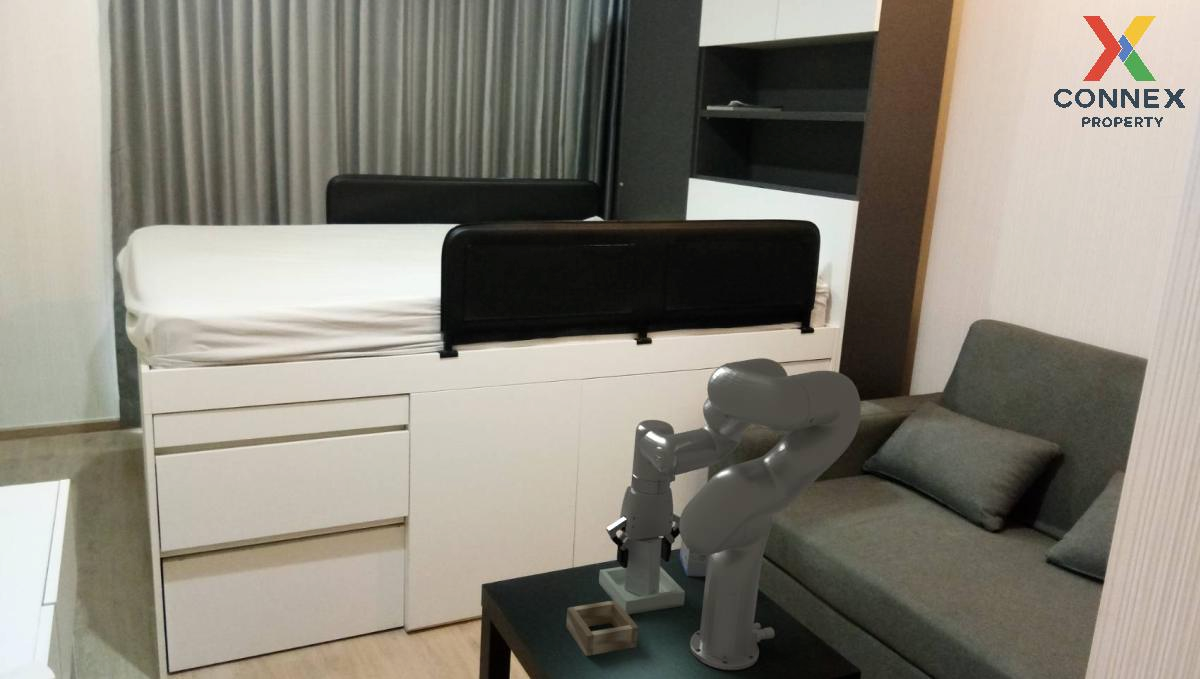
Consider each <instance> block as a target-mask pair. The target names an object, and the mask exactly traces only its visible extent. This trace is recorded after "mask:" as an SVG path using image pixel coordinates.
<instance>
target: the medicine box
mask: <svg viewBox="0 0 1200 679" xmlns="http://www.w3.org/2000/svg"><path fill="white" fill-rule="evenodd" d="M708 557H709V555H700V554H697V553H694V552H693V551H691V550H690V549H688V548H687V546H686V545H685V544H684V542H683V541H682V540H681V542H680V551H679V560H680V563H681V565H682V568H683V570H684V573H685V575H686V576H687V577H706V570H707V562H708Z"/></svg>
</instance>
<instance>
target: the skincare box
mask: <svg viewBox="0 0 1200 679" xmlns="http://www.w3.org/2000/svg"><path fill="white" fill-rule="evenodd" d="M626 538H627V537H626ZM626 538H625V539H626ZM661 538H662V537H653V538H646V539H638V540H632V542H631V543H630V544H629V545H628V547H627V549H628V551H629V554H628V566H627V568H625V590H627V591H629V592H632V593H635V594H637V595H640V596H645V595H651V594H655V593H657V592H658V591H659V580H660V566H661V560H662V558H661Z"/></svg>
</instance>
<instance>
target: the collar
mask: <svg viewBox="0 0 1200 679" xmlns="http://www.w3.org/2000/svg"><path fill="white" fill-rule="evenodd" d="M566 612H567V613H566V624H565V627H566V629H567V630H568V631H569V633H570V634H571V636H572V638H573V639H574V641H575V642H576V643H577V645H578V646H579V648H580V649H581V651H582V653H583V654H584V655H585V656H586V657H589V656H594V655H595V656H596V655H601V654H605V653H606V654H607V653H610V652H617V651H621V650H628V649H633V648H636V647H637V646H638V637H639V626H638V625H637V624H636V623H635V622H634V620H633V618H631V616H630V615H628V614H627V613H626V612H625V611H624V609H623V608H622V607H621V606H620V604H619V603H618V602H617V601H616V600H608V601H601V602H595V603H590V604H582V605H577V606H570V607H567V610H566ZM606 624H611V625H612V626H613V627H611V628H606V629H605V628H604V629H598V630H592V631H591V629H590V628H589V627H595V626H600V625H606Z"/></svg>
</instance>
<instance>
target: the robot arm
mask: <svg viewBox="0 0 1200 679" xmlns="http://www.w3.org/2000/svg"><path fill="white" fill-rule="evenodd" d="M706 390H707V399H706V400H705V401H704V404H703V406H702V407H703V408H702V412H703V414H702V415H703V418H704V420H705V422H706V424H705V425H704V426H702V427H700V428H697V429H692V430H687V431H681V432H678V433H675V430H674V427H673V426H672V425H671V424H670V423H669V422H667V421H665V420H659V419H646V420H645V419H644V420H643V421H641V422H639V423H638V425H637V426H636V429H635V437H634V446H633V447H634V449H633V460H632V461H633V462H632V471H631V472H632V473H631V481H630V482H631V485H629V486H627V487H626V490H625V493H624V496H623V499H622V503H621V510H620V516H619V519H618V520H616V521H615V522H614V523H612V524H610V525H609V526H607V527H606V533H607V534H608V536H609V538H610V540H611V541H612V542H613V543H614V544H615V545H616V546H617V550H616V561H617V563H618V564H619V565H620V567H623V568H627V566H628V554H629V551H628V549H627V547H628V545H629V544H630V543H631V542H632V540H638V539H646V538H653V537H660V538H661V560H663V561H664V562H666V563H669V562H670V557H671V554H672V546H673V544H674V543H675V539H676V538H677V537H678V536H679V535H680V538H681V542H682V541H683V542H684V544H685V545H686V546H687V548H688V549H690V550H691V551H693V552H694V553H697V554H700V555H708V562H707V570H706V576H705V580H704V581H705V582H704V591H703V599H702V608H701V609H702V610H701V617H700V618H701V619H700V628H699V630H697V631H696V632H694V633H693V634H692V635H691V638H690V641H689V649H690V652H691V653H692V655H693V656H694V657H695V658H696V659H697V660H699V661H700V662H702V663H703V664H705V665H707V666H709V667H713V668H714V669H719V670H724V671H727V670H728V671H738V670H744V669H747V668H749V667H752V666H753V665H754V664H755V663H757V661H758V659H759V654H760V650H759V646H758V644H757V643H760V642H761V640H769V639H773V638H774V637H775V630H774V629H773V627H771V626H769V627H764V628H762V626H761V623H759V622H755V616H756V608H757V600H758V592H759V591H758V590H759V585H760V584H759V583H760V576H761V570H762V569H761V568H762V561H763V557H764V552H765V549H766V545H767V542H768V540H769V536H770V534H771V530H772V526H773V525H772V524H773V515H775V514H777V513H779V512H782V511H784V510H785V509H787V508H788V507H789V506H791V504H792V503H794V502H795V500H797V499H798V497H799V496H800V495H802V494H803V493H804V492H805V491H806V490H807V489H808V488H809V487H811V485H812V484H814V482H815V481H816V480H817V479H818V478H819V477H820V476H821V475H822V474H823V473H824V472H825V471H827V470H828V469H829V468H830V467H831V466H832V465H833V464H834V463H835V462H836V461H837V460H838V459H839V458H840V457H841V456H842V455H843V454H844V452H845V451H847V449H848V448H849V446H850V445H851V444H852V442H853V440H854V438H855V437H856V434H857V432H858V429H859V426H860V421H861V414H862V413H861V412H862V408H861V406H862V405H861V399H860V398H861V397H860V395H859V394H860V393H859V392H858V389H857V386H856V385H855V384H854V382H853V380H851V379H850V378H849V377H848V376H846V375H845V374H843V373H841V372H838V371H833V370H815V371H808V372H802V373H797V374H791V375H788V373H787V371H786V369H785V368H784V367H783V365H782V364H780V363H779V362H777V361H776V360H773V359H770V358H765V357H764V358H763V357H758V358H751V359H745V360H739V361H733V362H727V363H724V364H722V365H720V366H718V367H717V368H716V369H715V370H714V371H713V372H712V373H711V375H710V377H709V379H708V382H707V388H706ZM751 425H753V426H756V427H759V428H763V429H766V430H770V431H773V432H781V433H785V432H787V433H786V434H785V435H784V436H782V438H781V439H780V440H779V441H778V442H777V443H776V445H774V446H773V447H772V448H771V449H770V450H768V452H766V453H765V454H764V455H763V456H760V457H758V458H755V459H751V460H747V461H744V462H740V463H736V464H732V465H730V466H726V467H725V468H722V469H721V470H719V471H718V472H717V473H715V474H714V475H713V476H712V477H711V478H710V479H709V480H708V481H707V482H706V483H705V484H704V485H703V486H702V487H701V489H699V491H697V492H696V493H695V495H694V496H692V498H691V499H690V500H689V501H688V503H686V504H685V506H684V508H683V509H682V511H681V512H682V513H681V515H680V516H678V515H677V514H674V498H673V491H672V488H671V483H672V482H675V481H676V476H678V475H683V474H687V473H690V472H693V471H698V470H701V469H706V468H710V467H712V466H714V465H716V464H718V463H719V462H721V461H722V460H724V459H725V458H726V457H727V456H729V455H730V454H731V453H732V452H733V451H735V450H736V449H737V448H738V446H739V445H740V443H741V440H742V438H743V432H744V431H746V430H747V429H748V428H749V427H750V426H751ZM674 523H675V524H674ZM619 531H621V533H620V534H619V536H618V534H617V532H619ZM626 537H627V538H626Z"/></svg>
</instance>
